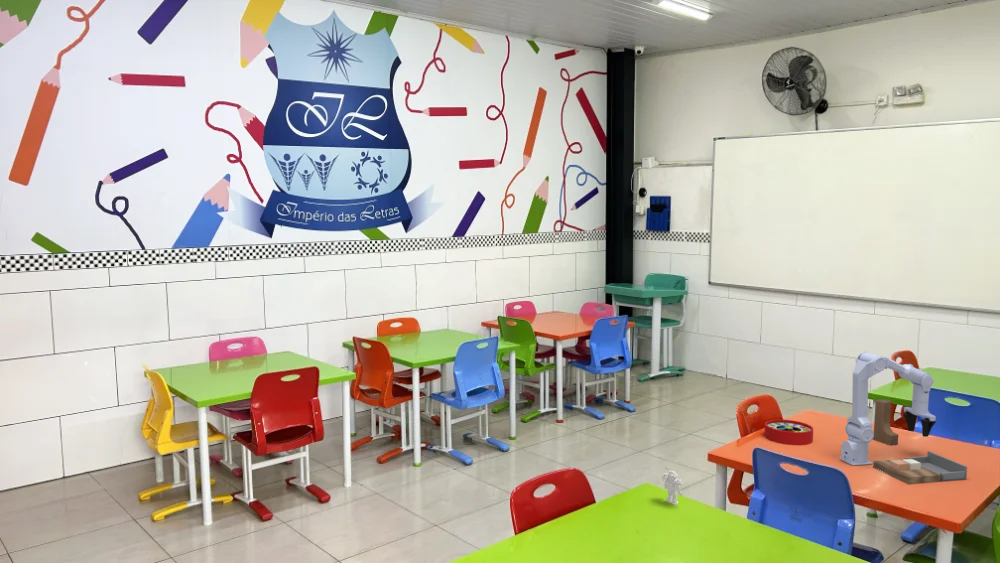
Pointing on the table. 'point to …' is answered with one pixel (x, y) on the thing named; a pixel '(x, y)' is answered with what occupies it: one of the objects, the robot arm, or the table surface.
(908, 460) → the cream tile
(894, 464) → the terracotta tile
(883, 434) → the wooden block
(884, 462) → the walnut board
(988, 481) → the table surface
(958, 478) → the gray box
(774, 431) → the toy clock
